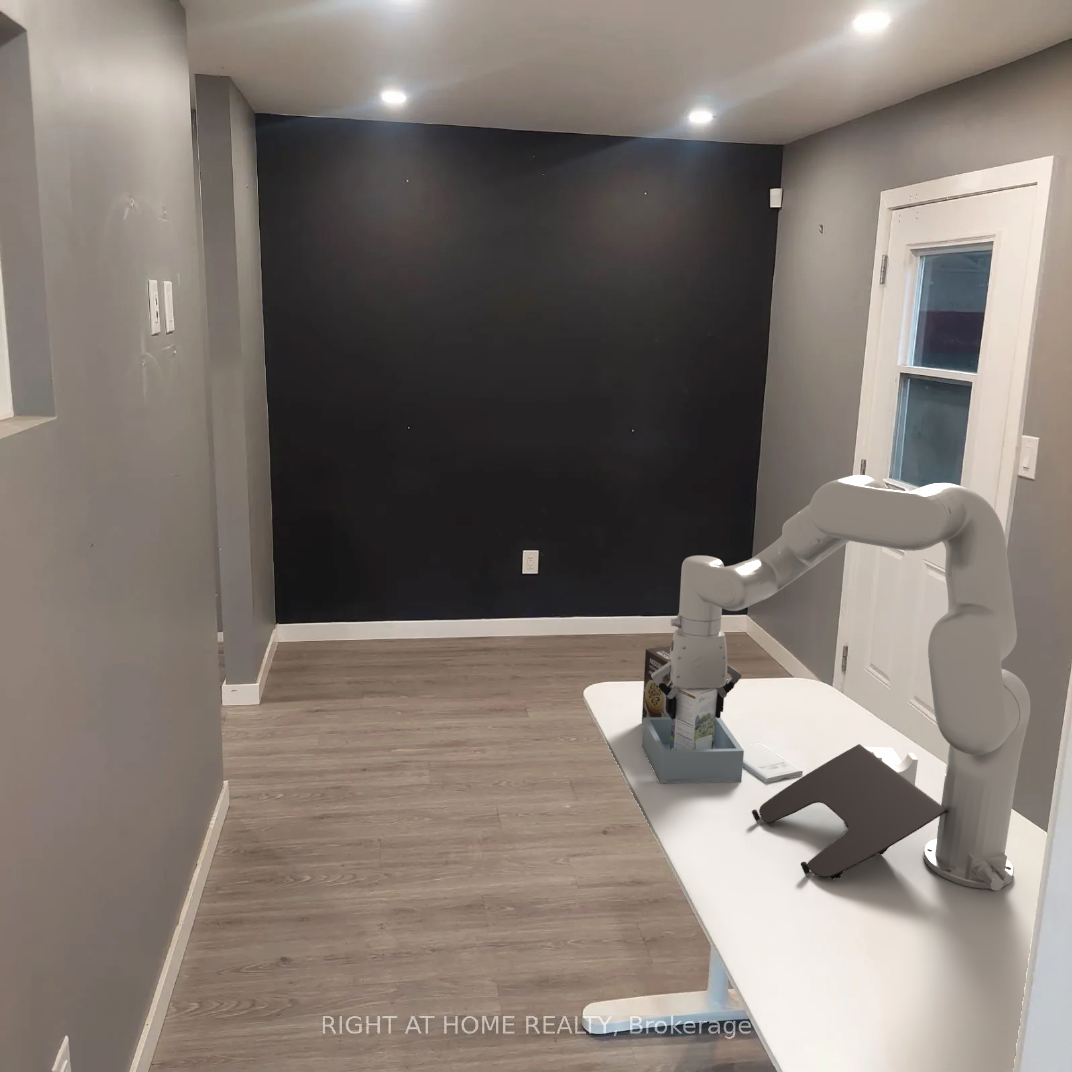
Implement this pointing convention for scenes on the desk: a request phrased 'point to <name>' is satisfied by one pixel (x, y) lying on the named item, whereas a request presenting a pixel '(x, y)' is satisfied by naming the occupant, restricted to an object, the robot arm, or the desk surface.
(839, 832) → the desk surface
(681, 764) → the bin
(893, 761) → the bracket
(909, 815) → the portable electronic device stand
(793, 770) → the external hard drive
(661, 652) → the coffee box
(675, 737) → the syrup box
